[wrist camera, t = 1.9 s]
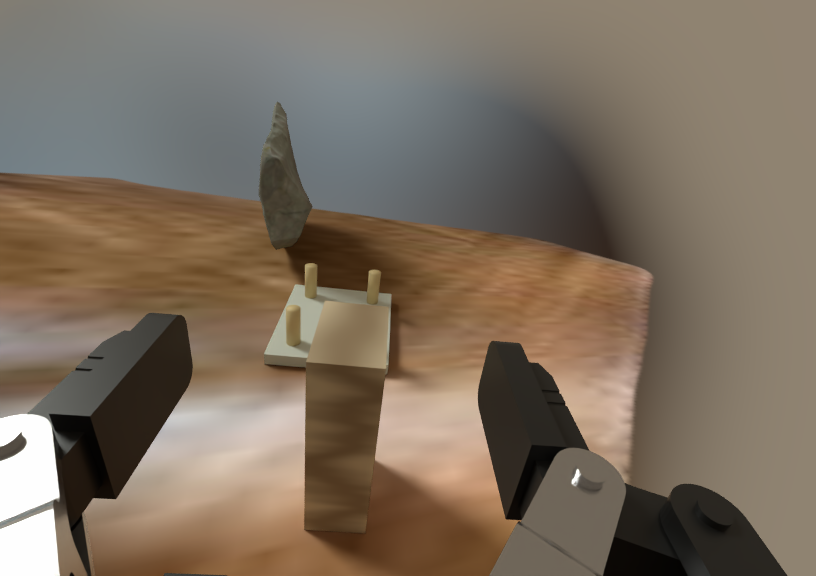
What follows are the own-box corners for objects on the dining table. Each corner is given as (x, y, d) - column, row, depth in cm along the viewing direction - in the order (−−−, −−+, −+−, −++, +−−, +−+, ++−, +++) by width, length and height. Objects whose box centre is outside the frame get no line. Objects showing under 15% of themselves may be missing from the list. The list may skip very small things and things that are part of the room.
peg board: (264, 363, 41) (262, 319, 39) (295, 292, 54) (295, 255, 51) (387, 374, 42) (392, 331, 40) (390, 302, 55) (394, 265, 52)
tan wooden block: (304, 529, 28) (306, 361, 21) (319, 454, 33) (325, 300, 26) (365, 533, 28) (386, 368, 22) (370, 457, 33) (388, 306, 27)
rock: (313, 286, 56) (316, 125, 46) (263, 288, 54) (255, 120, 44) (295, 214, 77) (295, 95, 68) (259, 214, 75) (253, 90, 66)
